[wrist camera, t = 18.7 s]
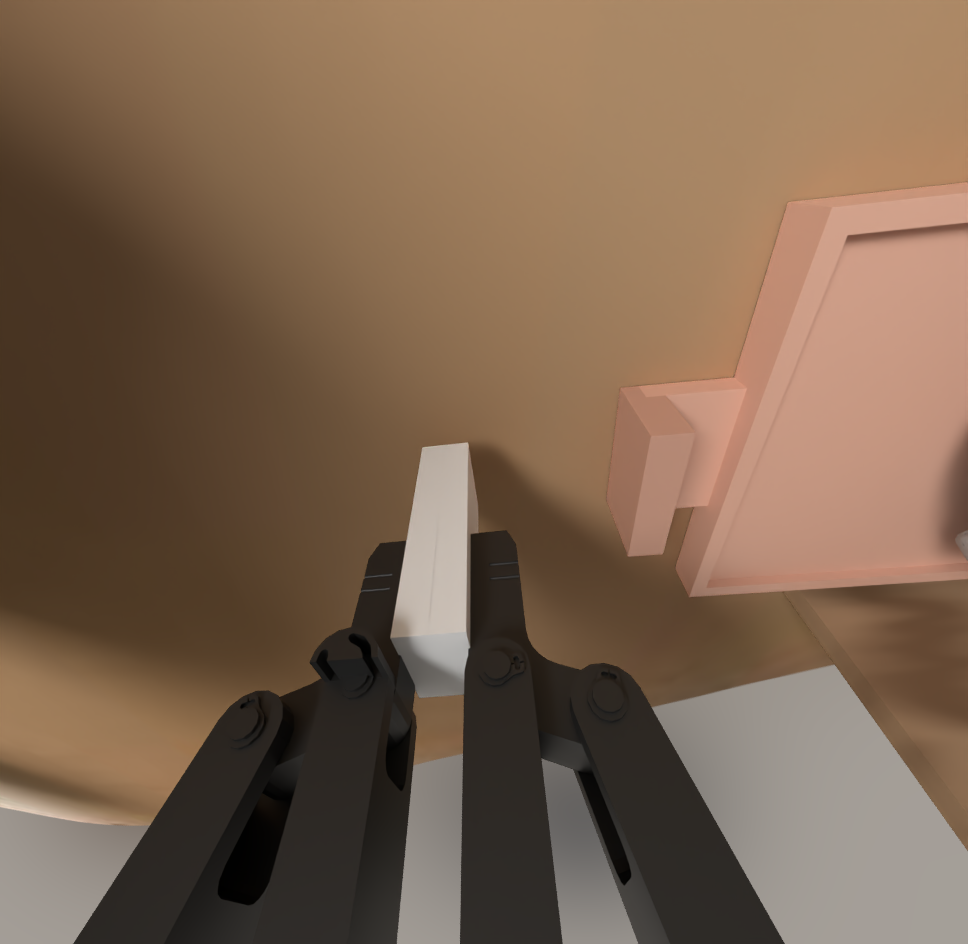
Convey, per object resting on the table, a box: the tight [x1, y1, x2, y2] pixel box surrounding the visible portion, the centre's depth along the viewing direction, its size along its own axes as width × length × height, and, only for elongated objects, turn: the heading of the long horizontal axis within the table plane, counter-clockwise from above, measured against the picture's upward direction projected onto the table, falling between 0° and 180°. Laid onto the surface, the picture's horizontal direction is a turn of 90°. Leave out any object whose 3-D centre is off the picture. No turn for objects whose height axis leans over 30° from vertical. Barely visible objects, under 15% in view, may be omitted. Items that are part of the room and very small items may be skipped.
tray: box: [606, 182, 968, 597], centre depth 13 cm, size 18×15×3 cm
